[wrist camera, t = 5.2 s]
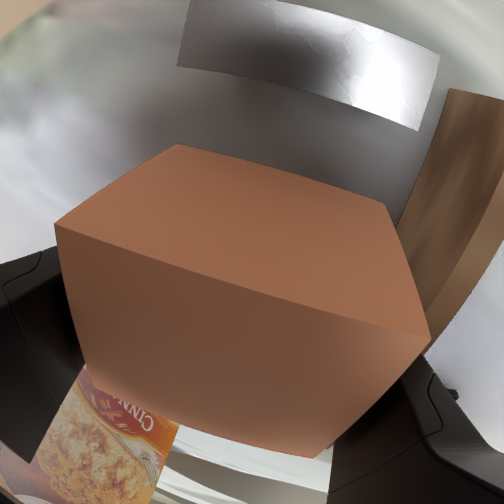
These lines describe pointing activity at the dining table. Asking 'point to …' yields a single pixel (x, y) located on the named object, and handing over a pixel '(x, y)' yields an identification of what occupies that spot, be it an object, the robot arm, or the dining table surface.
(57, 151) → the dining table surface
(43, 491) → the coffeecake box
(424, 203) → the shelf
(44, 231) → the dining table surface
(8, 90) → the dining table surface
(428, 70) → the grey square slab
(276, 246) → the salmon rectangular block
